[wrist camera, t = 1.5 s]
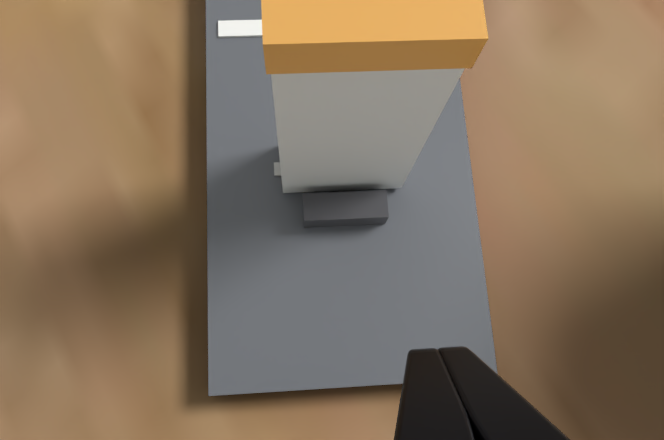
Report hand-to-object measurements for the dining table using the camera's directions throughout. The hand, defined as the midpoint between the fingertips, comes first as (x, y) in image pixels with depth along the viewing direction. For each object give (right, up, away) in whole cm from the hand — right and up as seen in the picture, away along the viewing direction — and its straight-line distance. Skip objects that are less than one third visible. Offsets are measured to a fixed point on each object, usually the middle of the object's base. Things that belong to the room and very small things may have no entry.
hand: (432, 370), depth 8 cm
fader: (-1, +4, +14) cm, 15 cm away
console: (-1, +5, +15) cm, 16 cm away
